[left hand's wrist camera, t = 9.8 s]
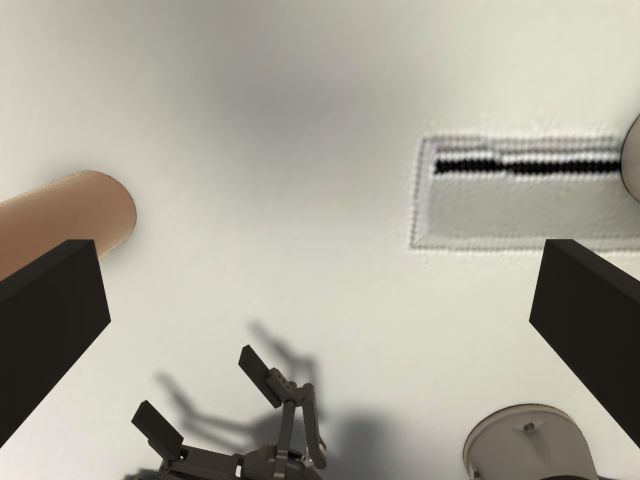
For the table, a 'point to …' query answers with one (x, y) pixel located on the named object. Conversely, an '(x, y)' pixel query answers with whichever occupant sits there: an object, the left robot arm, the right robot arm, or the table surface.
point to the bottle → (64, 218)
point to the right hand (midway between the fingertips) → (189, 382)
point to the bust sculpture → (632, 161)
